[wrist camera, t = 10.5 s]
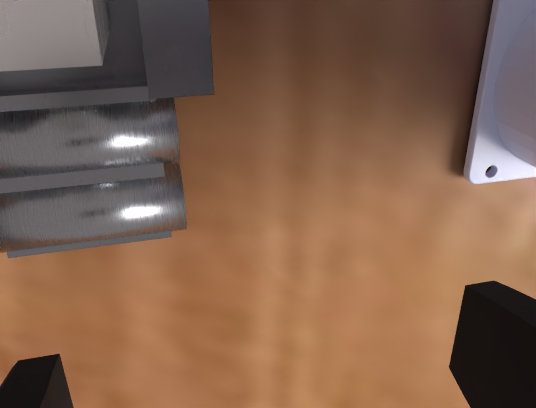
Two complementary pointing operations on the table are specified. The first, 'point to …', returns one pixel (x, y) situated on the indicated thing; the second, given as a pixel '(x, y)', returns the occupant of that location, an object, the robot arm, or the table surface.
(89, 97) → the chain end
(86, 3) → the pale grey rectangular prism
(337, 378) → the table surface
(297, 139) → the table surface
